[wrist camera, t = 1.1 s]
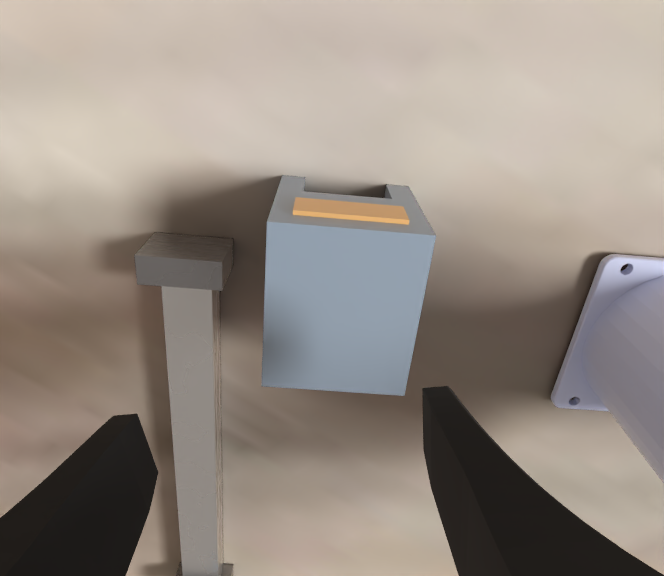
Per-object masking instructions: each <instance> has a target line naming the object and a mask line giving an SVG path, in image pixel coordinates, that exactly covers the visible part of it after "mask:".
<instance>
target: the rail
mask: <svg viewBox="0 0 664 576" xmlns="http://www.w3.org/2000/svg"><path fill="white" fill-rule="evenodd" d="M134 256H135V267H136V277H137V284H139V285H152V286H161V289H162V302H163V316H164V329H165V343H166V356H167V370H168V383H169V397H170V411H171V424H172V438H173V451H174V465H175V478H176V492H177V506H178V519H179V533H180V546H181V560H182V562H180V564H179V567H178V571H177V574H176V576H233V564H223V511H222V440H221V370H220V299H219V291H223V288H224V286H225V284H226V281H227V279H228V276H229V274H230V272H231V269H232V267H233V239H231V238H219V237H207V236H194V235H182V234H170V233H157V232H155V233H154V234H153V235H152V236H151V237H150V238H149V239H148V241H147V242H146V243H145V244H144V245H143V246H142V247H141V248H140V249H139V251H138V252H137V253H136V254H135V255H134Z"/></svg>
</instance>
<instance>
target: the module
mask: <svg viewBox="0 0 664 576" xmlns="http://www.w3.org/2000/svg"><path fill="white" fill-rule="evenodd" d="M304 189H305V177H296V176H285V175H282V178H281V181H280V184H279V187H278V190H277V193H276V196H275V199H274V202H273V205H272V208H271V211H270V214H269V217H268V220H267V235H266V265H265V296H264V327H263V357H262V386H265V387H280V388H295V389H310V390H325V391H340V392H355V393H370V394H385V395H400V396H404V395H405V390H406V385H407V380H408V375H409V370H410V365H411V360H412V355H413V350H414V345H415V340H416V335H417V330H418V325H419V320H420V314H421V309H422V304H423V299H424V294H425V289H426V284H427V279H428V274H429V269H430V264H431V259H432V254H433V249H434V244H435V239H436V235H435V233H434V231H433V229H432V227H431V226H430V224H429V222H428V220H427V218H426V217H425V215H424V213H423V211H422V209H421V208H420V206H419V204H418V202H417V200H416V199H415V197H414V195H413V193H412V191H411V190H410V188H409V186H399V185H387V184H386V189H385V196H384V198H376V197H364V196H352V195H341V194H329V193H318V192H306V191H304Z"/></svg>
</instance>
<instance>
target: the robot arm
mask: <svg viewBox="0 0 664 576" xmlns="http://www.w3.org/2000/svg"><path fill="white" fill-rule="evenodd" d="M625 264H628V266H627V268H626V269H625V270H623V271H620V269H621V267H622V266H623V265H625ZM573 397H575V398H574V399H573V400H570V399H571V398H573ZM551 400H552V402H553V404H554V405H555V406H556V407H558V408H567V409H582V410H597V411H609V412H610V413H611V414H612V416H613V417H614V418H615V420H616V421H617V422H618V424H619V425H620V426H621V428H622V429H623V430H624V432H625V433H626V434H627V435H628V437H629V438H630V439H631V441H632V442H633V443H634V445H635V446H636V447H637V449H638V450H639V451H640V453H641V454H642V455H643V457H644V458H645V459H646V461H647V462H648V463H649V464H650V466H651V467H652V468H653V470H654V471H655V472H656V474H657V475H658V476H659V478H660V479H661V480H662V482H663V483H664V258H657V257H645V256H633V255H621V254H610V255H608V256H606V257H605V258H603V259H602V260H601V262H600V264H599V266H598V269H597V272H596V274H595V277H594V280H593V283H592V285H591V288H590V291H589V293H588V296H587V299H586V302H585V304H584V307H583V310H582V313H581V315H580V318H579V321H578V323H577V326H576V329H575V332H574V334H573V337H572V340H571V342H570V345H569V348H568V351H567V353H566V356H565V359H564V361H563V364H562V367H561V370H560V372H559V375H558V378H557V381H556V383H555V386H554V389H553V391H552V394H551ZM423 444H424V454H425V459H426V464H427V470H428V474H429V479H430V484H431V489H432V492H433V495H434V499H435V502H436V505H437V508H438V511H439V515H440V518H441V521H442V524H443V527H444V530H445V534H446V537H447V540H448V543H449V546H450V549H451V552H452V556H453V559H454V562H455V565H456V568H457V571H458V575H459V576H664V575H663V574H661V573H659V572H658V571H656V570H654V569H653V568H651V567H650V566H648V565H647V564H645V563H643V562H642V561H640V560H639V559H637V558H636V557H634V556H632V555H631V554H629V553H628V552H626V551H625V550H623V549H622V548H620V547H619V546H617V545H616V544H615V543H613V542H612V541H610V540H609V539H608V538H606V537H605V536H603V535H602V534H600V533H599V532H598V531H596V530H595V529H593V528H592V527H591V526H589V525H588V524H586V523H585V522H584V521H582V520H581V519H580V518H578V517H577V516H576V515H575V514H573V513H572V512H571V511H570V510H568V509H567V508H566V507H564V506H563V505H562V504H561V503H560V502H558V501H557V500H556V499H555V498H554V497H552V496H551V495H550V494H549V493H548V492H546V491H545V490H544V489H543V488H542V487H541V486H540V485H538V484H537V483H536V482H535V481H534V480H533V479H532V478H531V477H530V476H529V475H528V474H526V473H525V472H524V471H523V470H522V469H521V468H520V467H519V466H518V465H517V464H516V463H515V462H514V461H513V460H512V459H511V458H510V457H509V456H508V455H507V454H506V453H505V452H504V451H503V450H502V449H501V448H500V447H499V446H498V444H497V443H496V442H495V441H494V440H493V439H492V438H491V437H490V436H489V435H488V434H487V433H486V431H485V430H484V429H483V428H482V427H481V426H480V425H479V424H478V422H477V421H476V420H475V419H474V418H473V416H472V415H471V414H470V413H469V412H468V410H467V409H466V408H465V407H464V405H463V404H462V403H461V402H460V400H459V399H458V398H457V396H456V395H455V394H454V392H453V391H452V390H451V389H450V388H449V387H448V386H443V387H431V388H423ZM157 475H158V470H157V467H156V465H155V462H154V459H153V456H152V454H151V451H150V448H149V445H148V442H147V440H146V437H145V434H144V431H143V428H142V426H141V423H140V420H139V417H138V415H137V414H128V415H117V416H113V417H112V418H111V419H109V420H108V421H107V422H106V423H105V424H104V425H103V426H102V427H100V428H99V429H98V430H97V431H96V432H95V433H94V434H93V435H92V436H91V437H90V438H89V439H88V440H87V441H86V442H84V443H83V444H82V445H81V446H80V447H79V448H78V449H77V450H76V451H75V452H74V453H73V454H72V455H71V456H70V457H69V458H68V459H66V460H65V461H64V462H63V463H62V464H61V465H60V466H59V467H58V468H57V469H56V470H55V471H54V472H53V473H51V474H50V475H49V476H48V477H47V478H46V479H45V480H44V481H43V482H42V483H40V484H39V485H38V486H37V487H36V488H35V489H34V490H32V491H31V492H30V493H29V494H28V495H27V496H25V497H24V498H23V499H22V500H21V501H20V502H19V503H17V504H16V505H15V506H14V507H13V508H12V509H11V510H9V511H8V512H7V513H6V514H5V515H3V516H2V517H1V518H0V576H125V575H126V573H127V570H128V567H129V565H130V562H131V559H132V557H133V554H134V552H135V549H136V546H137V544H138V541H139V538H140V535H141V533H142V530H143V527H144V524H145V522H146V519H147V516H148V513H149V510H150V506H151V502H152V498H153V494H154V489H155V485H156V480H157Z"/></svg>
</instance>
